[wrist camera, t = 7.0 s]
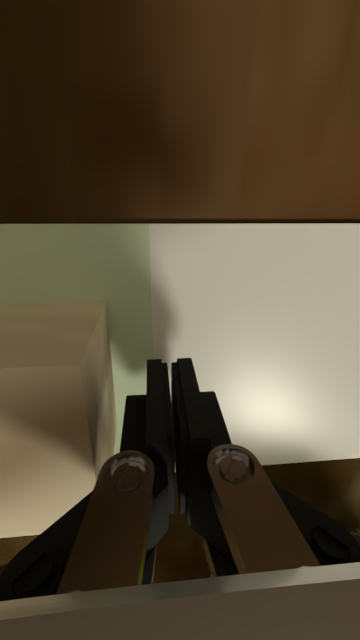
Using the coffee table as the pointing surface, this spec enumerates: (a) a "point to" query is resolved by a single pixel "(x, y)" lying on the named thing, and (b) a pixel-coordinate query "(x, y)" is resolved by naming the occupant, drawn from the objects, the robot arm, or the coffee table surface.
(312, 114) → the coffee table surface
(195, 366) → the lane
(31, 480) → the birch block
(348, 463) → the coffee table surface
